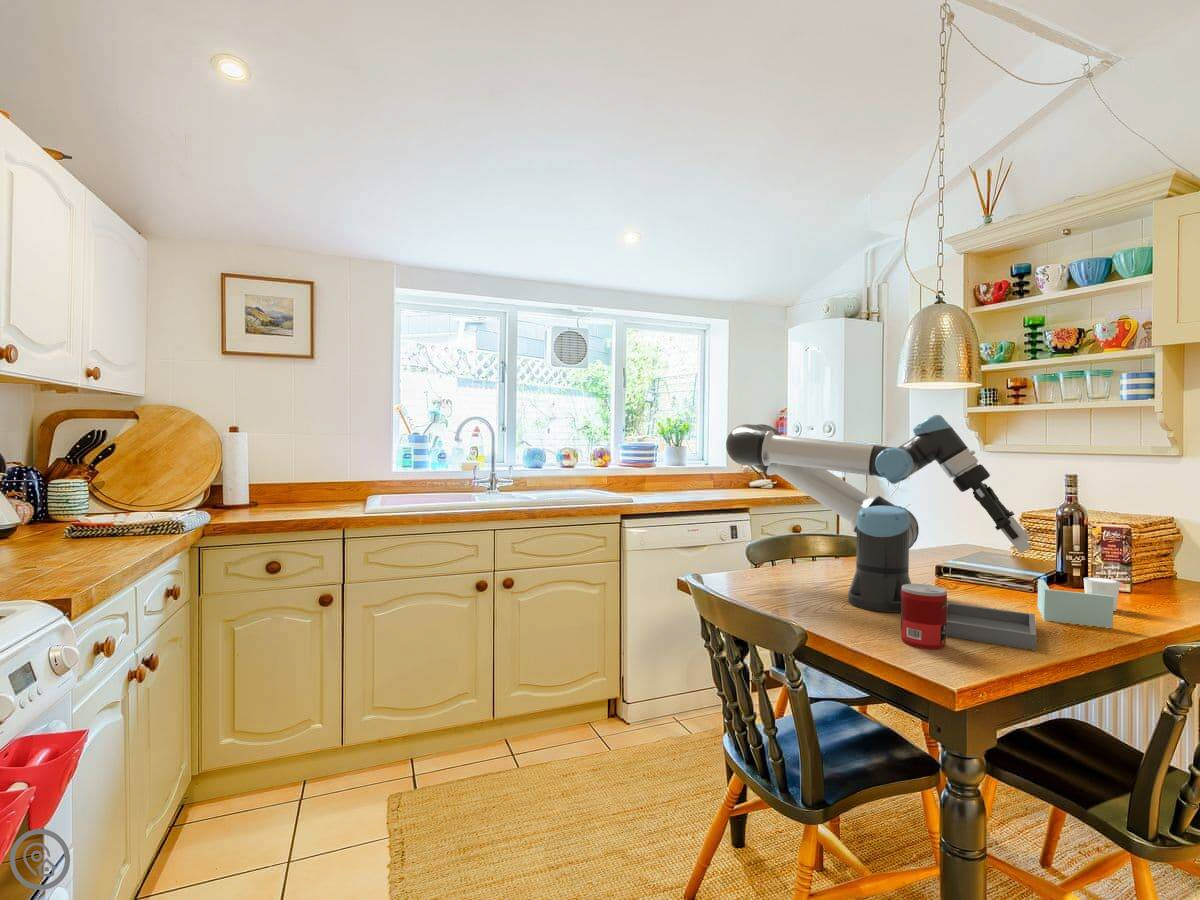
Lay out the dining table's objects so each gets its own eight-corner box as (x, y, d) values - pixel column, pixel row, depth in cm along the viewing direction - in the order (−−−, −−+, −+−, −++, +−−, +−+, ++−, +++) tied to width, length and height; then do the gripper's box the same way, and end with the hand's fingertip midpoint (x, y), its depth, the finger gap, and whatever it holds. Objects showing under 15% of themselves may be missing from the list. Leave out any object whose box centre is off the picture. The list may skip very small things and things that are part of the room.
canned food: (951, 651, 118) (952, 593, 118) (906, 648, 120) (907, 591, 120) (938, 638, 126) (939, 584, 126) (896, 635, 128) (896, 582, 127)
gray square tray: (935, 634, 128) (935, 620, 128) (943, 614, 142) (944, 601, 142) (1036, 650, 119) (1036, 635, 119) (1034, 628, 133) (1034, 614, 133)
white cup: (1116, 614, 143) (1117, 584, 143) (1079, 608, 149) (1080, 579, 148) (1122, 609, 148) (1122, 580, 148) (1086, 603, 153) (1086, 575, 153)
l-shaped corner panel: (1112, 631, 133) (1113, 596, 132) (1044, 623, 139) (1044, 589, 138) (1100, 617, 143) (1101, 585, 143) (1037, 610, 149) (1038, 579, 149)
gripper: (977, 464, 140) (1043, 545, 134) (982, 460, 161) (1040, 531, 154) (946, 482, 144) (1009, 562, 137) (955, 476, 165) (1010, 546, 158)
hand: (1025, 546), depth 146 cm, fingers open, 13 cm apart
